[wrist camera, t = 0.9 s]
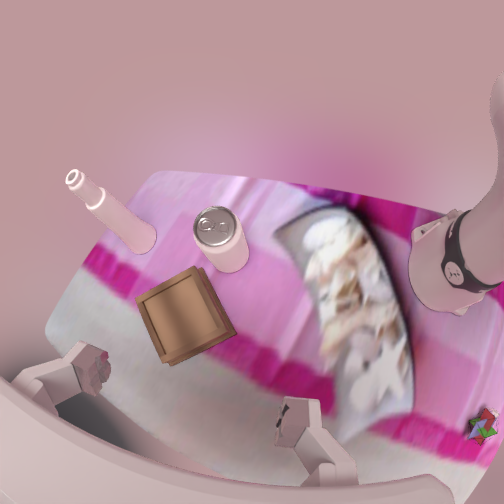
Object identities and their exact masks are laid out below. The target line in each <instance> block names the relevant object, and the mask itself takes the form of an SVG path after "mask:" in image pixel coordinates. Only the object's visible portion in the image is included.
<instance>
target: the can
mask: <svg viewBox="0 0 504 504" xmlns="http://www.w3.org/2000/svg"><path fill="white" fill-rule="evenodd" d="M193 231H194V239H195V241H196V243H197V245H198V247H199V248H200V249H201V251H202V252H203V253H204V254H205V256H206V257H207V258H208V259H209V261H210V262H211V263H212V264H213V265H214V267H215V268H217V269H218V270H219V271H221V272H225V273H233V272H236V271H238V270H240V269H241V268H243V267H244V265H245V264H246V263H247V261H248V257H249V249H248V245H247V242H246V238H245V235H244V232H243V229H242V226H241V223H240V221H239V219H238V217H237V216H236V215H235V214H234V213H233V212H231V211H230V210H229V209H227V208H225V207H222V206H212V207H209V208H206V209H205V210H203V211H202V212H201V213H200V214H199V215H198V216H197V217H196V219H195V222H194V226H193Z"/></svg>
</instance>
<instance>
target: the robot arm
mask: <svg viewBox="0 0 504 504" xmlns="http://www.w3.org/2000/svg"><path fill="white" fill-rule="evenodd" d="M490 116H491V122H492V125H493V128H494V131H495V135H496V140H497V145H498V170H497V175H496V179H495V182H494V184H493V186H492V188H491V190H490V191H489V192H488V193H487V195H486V196H485V197H484V198H483V199H482V201H480V203H479V204H478V205H476V207H474V208H473V209H472V210H468V211H466V212H462V211H457V210H456V209H454V210H452V211H450V212H449V213H448V214H447V216H444V217H442V218H440V219H437V220H435V221H432V222H430V223H427V224H424V225H422V226H419V227H417V228H415V229H413V230H412V233H411V239H412V250H411V254H410V258H409V267H408V268H409V278H410V282H411V285H412V288H413V290H414V292H415V294H416V295H417V297H418V298H419V300H420V301H421V302H422V303H423V304H424V305H425V306H427V307H428V308H430V309H432V310H434V311H439V312H452V313H453V314H455V315H457V316H462V315H464V314H465V313H466V312H467V310H468V308H469V307H470V305H472V304H475V303H477V302H479V301H481V300H482V299H483V296H484V295H485V293H486V292H487V291H490V290H492V289H493V288H495V287H497V286H498V285H500V284H501V283H502V281H504V71H503V72H502V73H501V74H500V75H499V77H498V78H497V80H496V81H495V83H494V86H493V89H492V92H491V98H490ZM421 231H422V232H423V234H422V233H421ZM108 358H109V356H108V352H106V351H104V350H102V349H100V348H97V347H95V346H93V345H90V344H88V343H86V342H83V341H79V342H78V343H77V344H76V345H75V346H74V347H73V348H72V349H71V350H70V351H69V352H68V353H67V354H66V356H65V357H64V358H63V359H60V358H59V359H56V360H53V361H50V362H46V363H43V364H40V365H37V366H33V367H30V368H27V369H24V370H23V371H22V372H21V373H20V374H19V375H18V376H17V377H16V378H15V379H14V380H13V381H12V382H11V383H9V382H7V381H6V380H5V379H4V378H2V377H1V376H0V504H455V501H454V497H453V494H452V492H451V490H450V488H449V487H447V486H446V485H445V484H444V483H442V482H441V481H440V480H439V479H437V478H436V477H434V476H433V475H431V474H423V475H419V476H414V477H409V478H404V479H399V480H393V481H387V482H380V483H372V484H363V485H359V483H358V476H357V468H356V462H355V461H354V460H353V459H352V457H351V456H350V455H349V454H348V453H347V452H346V451H345V450H344V449H343V448H342V446H341V445H340V444H339V443H338V442H337V441H336V440H335V439H334V438H333V436H332V435H331V434H330V433H329V432H328V431H327V430H326V428H322V419H321V409H320V401H319V400H318V399H307V398H298V397H289V396H285V397H284V398H283V400H282V406H281V407H280V408H279V411H278V414H277V419H276V427H277V428H278V429H277V432H276V434H275V446H281V447H290V448H294V450H295V452H296V453H297V455H298V457H299V458H300V460H301V461H302V463H303V465H304V466H305V468H306V469H307V471H308V472H309V474H310V476H309V477H308V478H307V479H306V480H305V481H304V482H303V483H302V484H301V487H294V486H277V485H266V484H257V483H249V482H242V481H235V480H229V479H224V478H218V477H213V476H209V475H204V474H200V473H195V472H191V471H187V470H184V469H180V468H177V467H173V466H170V465H167V464H163V463H160V462H157V461H154V460H151V459H148V458H145V457H143V456H140V455H137V454H135V453H132V452H129V451H127V450H124V449H122V448H120V447H117V446H115V445H113V444H110V443H108V442H106V441H104V440H102V439H99V438H97V437H95V436H93V435H91V434H89V433H87V432H85V431H83V430H81V429H79V428H78V427H76V426H74V425H72V424H70V423H68V422H66V421H65V420H63V419H61V418H60V417H58V412H57V410H56V409H55V407H54V405H56V404H58V403H60V402H62V401H64V400H66V399H68V398H70V397H72V396H74V395H76V394H77V393H80V392H82V391H84V392H86V393H89V394H91V395H93V396H95V397H96V396H97V395H98V393H99V392H100V390H101V389H102V383H104V382H106V381H107V380H108V378H109V376H110V373H111V365H110V363H109V362H108V360H107V359H108Z"/></svg>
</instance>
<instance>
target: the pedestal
mask: <svg viewBox="0 0 504 504" xmlns="http://www.w3.org/2000/svg"><path fill="white" fill-rule="evenodd" d="M135 301H136V303H137V306H138V308H139V311H140V313H141V316H142V318H143V321H144V323H145V326H146V328H147V330H148V333H149V335H150V337H151V340H152V342H153V344H154V346H155V348H156V351H157V353H158V355H159V357H160V359H161V361H162V364H163V363H169V365H170V366H173V365H176V364H178V363H180V362H182V361H184V360H186V359H188V358H190V357H192V356H194V355H196V354H198V353H201V352H203V351H205V350H207V349H209V348H211V347H213V346H215V345H217V344H219V343H220V342H222V341H224V340H226V339H228V338H230V337H232V336H234V335H236V334H237V333H236V331H235V329H234V327H233V326H232V324H231V322H230V320H229V318H228V316H227V314H226V312H225V310H224V308H223V307H222V305H221V303H220V301H219V299H218V297H217V295H216V293H215V291H214V289H213V287H212V285H211V283H210V281H209V279H208V277H207V275H206V273H205V271H204V269H203V268H202V267H201V268H199V269H197V268H196V267H195V266H192V267H190V268H189V269H187V270H185V271H183V272H181V273H179V274H178V275H176V276H174V277H172V278H170V279H169V280H167V281H165V282H163V283H161V284H160V285H158V286H156V287H154V288H153V289H151V290H149V291H147V292H145V293H144V294H142V295H140V296H138V297H137V298H135Z"/></svg>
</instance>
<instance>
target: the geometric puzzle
mask: <svg viewBox="0 0 504 504" xmlns="http://www.w3.org/2000/svg"><path fill="white" fill-rule="evenodd" d="M487 409H490V410H492V411H493V413H494V415H492V414H491V413H490V412H489V411H488V410H487ZM483 410H484V412H482V413H483V414H482V416H481V417H479V418H477V419H473V420H469V421H470V422H469V424H470V423H471V424H472V425H473V426H474V427H473V429H472V431H471V433H470V435H469V437H468V438H467V439H468V440H469V438H472V437H474V439H475V440H476V441H477V442H478V444H479V445H480V446H481V444H482V443H483V441H484V440H485V438H487V437H489V436H492V435H495V434H498V433H497V432H498V431H497V432H496V431H495V430H494V429H493V428H492V426H493V424H494V422H495V420H496V418H497V416H498V415H499V413H498V411H497V410H495V409H491V408H485V409H483ZM478 414H479V413H478ZM496 424H497V423H496ZM468 428H469V427H468ZM470 429H471V427H470ZM490 439H491V438H490ZM486 442H487V441H486Z"/></svg>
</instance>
